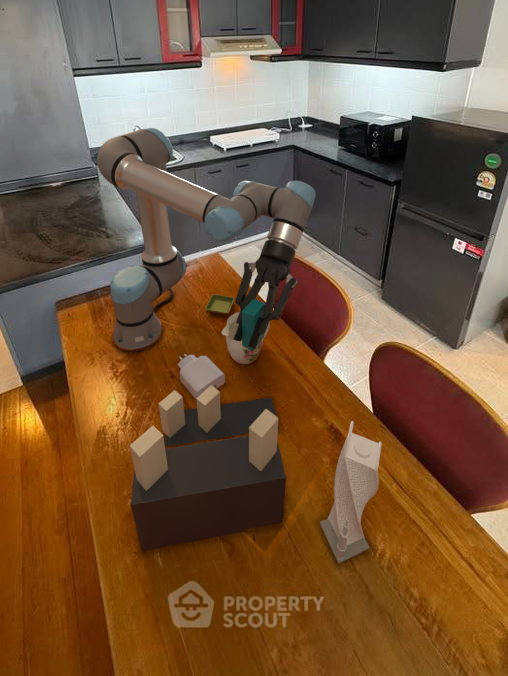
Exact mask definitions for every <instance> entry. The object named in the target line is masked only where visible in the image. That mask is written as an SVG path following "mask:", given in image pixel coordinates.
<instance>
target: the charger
mask: <svg viewBox="0 0 508 676" xmlns="http://www.w3.org/2000/svg"><path fill="white" fill-rule="evenodd" d="M183 357H184V358H182V357H181V356H179V357H178V358H179V360H180V361H179V362H178V363H177V366H178V368H179V369H180V371H179V381H180V382H181V384H182V385H183V386H184V387H185V389H187V391H188V392H189V393H190V394H191V395H192V397H193V398H194V399H195V400H196V401H197V399H196V398H197V397H199V396H200V395H201V394H202V393H203V392H204V391H205V390H206V389H207V388H209V387H210V386H211V385H212V386H213V387H214V388H216V389H217V390H218V388H220V387H221V386H223V385H224V384H225V383H226V375H225V373H224V372H223V371H222V370H221V369H220V367H218V366H217V365H216V363H214V362H213V361H212V360H211V359H210V358H209V357H208V356H207V355H200V356H198V357H196V356H195V354H188V355H187V354H186V353H184V354H183Z"/></svg>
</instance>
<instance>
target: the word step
mask: <svg viewBox="0 0 508 676" xmlns="http://www.w3.org/2000/svg"><path fill="white" fill-rule="evenodd" d="M278 426H279V417H278V416H277V415H276V416H275V415H274V414H272V413H271V412H270V411H268V410H267V409H265V410H264V411H263V413H262V414H261V415H260V416H259V417H258V418H257V419H256V420H255V421H254V422H253V424H252V425H251V426H250V427H249V434H248V435H246V436H245V435H244V436H239V437H233V438H227V439H219V440H213V441H206V442H201V443H194V444H189V445H187V444H186V445H182V446H181V445H180V446H175V447H167V448H166V446H165V439H164V435H163V434H162V433H161V431H160V430H158V429H157V428H156V427H155V426H154V425H151V426H150V427H149V428H147V430H146V431H145V432H143V433H142V434H141V435H139V437H138V438H137V439H135V440H134V441H133V442H132V443H131V444H130V445H129V449H130V454H131V458H132V464H133V468H134V469H133V476H132V477H133V479H132V486H131V487H132V488H131V498H130V507H131V512H132V517H133V521H134V525H135V529H136V533H137V538H138V541H139V547H140V550H141V552H144V551H150V550H155V549H160V548H165V547H172V546H176V545H182V544H187V543H191V542H196V541H201V540H208V539H213V538H217V537H222V536H223V537H224V536H228V535H233V534H239V533H244V532H246V530H249V529H255V528H260V527H266V526H271V525H275V524H282V523H283V522H284V512H285V511H284V509H285V498H286V484H287V476H286V475H287V474H286V471H285V467H284V463H283V459H282V455H281V454H282V453H281V450H280V446H279V442H278V434H279V429H278Z"/></svg>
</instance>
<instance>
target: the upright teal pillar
mask: <svg viewBox="0 0 508 676" xmlns="http://www.w3.org/2000/svg"><path fill="white" fill-rule="evenodd" d="M265 304H266V302H263V301H260V300H258V299H253V300H252V301H251V302H250V303H249V304H248V305H247V306H246V308H245V309H244V310H243V311H242V346H243V347H245V348H248V349H250V350H252V351H254V349H255V348H251V347H249V346H248V345H249V342H250V339H251V337H252V334H253V331H254V329H255V326H256V323H257V320H258V318H259V317H261V318H262V315H263V313H264V308H265ZM263 338H264V335H263V334H260V337H259V340H258V342H257V345H256V347H257V346H258V344H259V343H260V342H261V340H262V339H263ZM264 339H265V338H264ZM264 339H263V340H264Z"/></svg>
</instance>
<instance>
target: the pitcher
mask: <svg viewBox="0 0 508 676" xmlns="http://www.w3.org/2000/svg"><path fill="white" fill-rule="evenodd" d="M239 313H240V311H238V312H235V313H233V314H232V315H230V316H229V317H228V318H227V320H226V325H225V327H223V328H222V330H221V335H222V336H224V337H225V341H226V348H227V351H228V353H229V355H230V357H231V358H232V359H233V361H234V362H236V363H237V364H240V365H249V364H251V363H253V362H255V361H256V360H257V359H258V357H259V355H260V353H261V351H262V348H263V343H264V339H265V338H266V336H267V335H268V333H269V331H270V328H271V321H270V322H269V324H268V327H267V330H266V332H265V334H264V338H263V339H262V340H261V342H260V343H259V344H258V346H257V347H256V348H255V349H254V351H252V350H250V349H248V348H245V347H243V346H242V340H241V342H240V341H236V340H233V339H234V336H235V333H236V331H237V328H238V326H239V324H237V323H236V320H237V318H238V315H239Z"/></svg>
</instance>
